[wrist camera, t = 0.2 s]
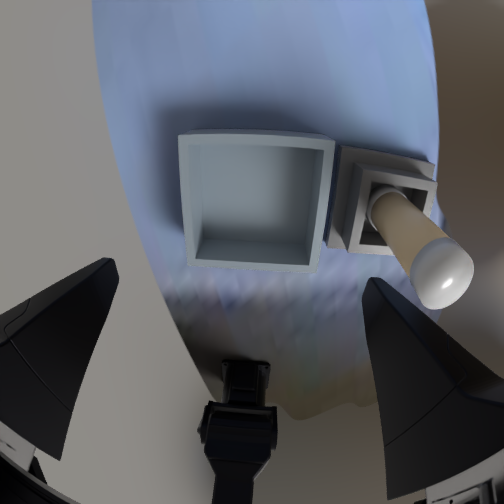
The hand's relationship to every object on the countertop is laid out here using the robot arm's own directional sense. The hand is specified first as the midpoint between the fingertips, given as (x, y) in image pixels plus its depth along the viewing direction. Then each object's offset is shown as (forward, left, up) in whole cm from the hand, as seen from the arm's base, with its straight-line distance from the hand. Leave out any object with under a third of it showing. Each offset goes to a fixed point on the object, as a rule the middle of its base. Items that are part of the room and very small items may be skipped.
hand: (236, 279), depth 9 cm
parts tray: (-2, 0, -15) cm, 15 cm away
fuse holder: (-2, -11, -15) cm, 18 cm away
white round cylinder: (-2, -11, -14) cm, 18 cm away
